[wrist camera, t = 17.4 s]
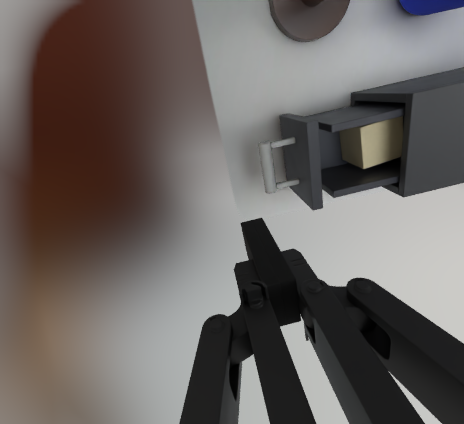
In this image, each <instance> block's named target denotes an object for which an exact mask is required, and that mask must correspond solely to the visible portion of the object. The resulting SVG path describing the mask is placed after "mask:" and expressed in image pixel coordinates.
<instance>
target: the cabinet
mask: <svg viewBox="0 0 464 424" xmlns="http://www.w3.org/2000/svg"><path fill="white" fill-rule="evenodd" d="M371 101H376V102H396V103H406V106H405V118H404V130H403V142H402V155H401V167H400V179H399V182H397V183H393V184H389V185H385V186H382V187H384V188H386V189H388V190H390V191H392V192H394V193H396V194H398V195H400V196H402V197H407V196H411V195H415V194H419V193H423V192H427V191H432V190H436V189H439V188H444V187H448V186H452V185H456V184H460V183H464V67H463V68H459V69H454V70H450V71H446V72H441V73H437V74H432V75H428V76H424V77H419V78H415V79H411V80H406V81H402V82H397V83H393V84H389V85H384V86H380V87H376V88H371V89H367V90H362V91H358V92H354V93H351V106H354V105H358V104H363V103H367V102H371Z"/></svg>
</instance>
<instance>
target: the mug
mask: <svg viewBox="0 0 464 424" xmlns="http://www.w3.org/2000/svg"><path fill="white" fill-rule="evenodd" d="M400 3H401V5H402V6H403V8H404V9H405V10H406V11H408V12H409V13H411V14H414V15H429V14H433V13H438V12H443V11H447V10H452V9H456V8H461V7H464V0H400Z"/></svg>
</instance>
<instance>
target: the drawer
mask: <svg viewBox="0 0 464 424" xmlns="http://www.w3.org/2000/svg"><path fill="white" fill-rule="evenodd" d="M405 106H406V103H396V102H376V101H371V102H367V103H363V104H358V105H354V106H350V107H345V108H341V109H336V110H332V111H328V112H323V113H319V114H315V115H310V116H306V117H302V116H297V115H293V114H284V115H280V125H281V133H282V140H279V141H274V142H270V141H263V142H260V143H258V147H259V153H260V159H261V166H262V172H263V179H264V185H265V192H266V193H269V194H270V193H275V192H276V191H277V189H280V188H284V187H288V186H289V187H290V188H291V189H292V190H293V191H294V192H295V193H296V194H297V195H298V196H299V197H300V198H301V199H302V200H303V201H304V202H305V203H306V204H307V205H308V206H309V207H310V208H311V209H312V210H317V209H321V208H323V200H322V189H323V190H324V191H325V192H327V193H328V194H329V195H331V196H332V197H333V198H335V197H339V196H343V195H348V194H352V193H356V192H360V191H364V190H368V189H372V188H376V187H380V186H385V185H389V184H393V183H397V182H399V179H400V167H401V157H399V158H396V159H393V160H390V161H387V162H384V163H381V164H378V165H375V166H372V167H369V168H366V169H362V168H360V167H358V166H355V165H353V164H351V163H349V162H347V161H344V160H343V159H342V151H341V143H340V134H339V131H342V130H346V129H350V128H355V127H359V126H363V125H367V124H372V123H376V122H380V121H385V120H389V119H393V118H397V117H402V116H403V130H404V118H405ZM280 146H283V151H284V160H285V168H286V177H287V181H283V182H279V183H276V179H275V171H274V164H273V157H272V149H271V148H276V147H280Z"/></svg>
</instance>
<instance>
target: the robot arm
mask: <svg viewBox="0 0 464 424" xmlns="http://www.w3.org/2000/svg"><path fill="white" fill-rule="evenodd" d="M241 227H242V232H243V237H244V241H245V246H246V251H247V255H248V258H249V260H248V261H244V262H240V263H236V265H235V268H234V272H235V276H236V280H237V285H238V289H239V295H240V299H241V305H240V307H239V309H238V310H237V311H236V312H235V313H233V314H232V315H230V316H228V317H227V316H225V315H222V314H218V315H214V316H212V317H210V318H208V319H207V320H206V321H205V323H204V325H203V327H202V331H201V335H200V339H199V344H198V348H197V352H196V356H195V360H194V364H193V369H192V373H191V377H190V381H189V386H188V390H187V394H186V398H185V403H184V407H183V411H182V415H181V419H180V424H238V415H239V401H240V386H241V371H242V361H244V360H245V359H247V358H248V357H250V356H251V355H253V354H254V357H255V362H256V366H257V370H258V375H259V378H260V383H261V387H262V392H263V396H264V400H265V404H266V408H267V413H268V416H269V421H270V424H316V422H315V419H314V416H313V414H312V411H311V408H310V406H309V403H308V400H307V398H306V395H305V392H304V390H303V387H302V385H301V382H300V379H299V377H298V374H297V371H296V369H295V366H294V364H293V361H292V358H291V355H290V353H289V350H288V347H287V345H286V342H285V339H284V337H283V334H282V331H281V329H280V326H283V325H287V324H291V323H295V322H299V321H301V317H302V319H303V320H304V328H305V336H306V340H307V341H308V340H309V339H310V341H311V343H312V345H313V348H314V350H315V352H316V354H317V356H318V358H319V360H320V362H321V365H322V367H323V369H324V371H325V373H326V375H327V377H328V379H329V381H330V384H331V386H332V388H333V390H334V392H335V394H336V396H337V398H338V400H339V403H340V405H341V407H342V409H343V411H344V413H345V415H346V417H347V420H348V422H349V424H425V423H424V422H423V420H422V419H421V417H420V416H419V414H418V413H417V412H416V410H415V409H414V407H413V406H412V404H411V403H410V402H409V400H408V399H407V397H406V396H405V395H404V393H403V392H402V390H401V389H400V387H399V386H398V385H397V383H396V382H395V380H394V379H393V377H392V376H391V375H390V373H391V374H392V375H393V376H394V377H395V378H396V379H397V380H398V381H399V382H400V383H401V384H403V386H404V387H405V388H407V390H408V391H409V392H410V393H412V394H413V395H414V396H415V397H416V398H417V399H418V400H419V401H420V402H421V403H422V404H423V405H424V406H425V407H426V408H427V409H428V410H429V411H430V412H431V413H432V414H433V415H434V416H435V417H436V418H437V419H438V420H439V421H440V422H441V423H442V424H464V344H463V343H462V342H460V341H459V340H458V339H456V338H455V337H453V336H452V335H450V334H449V333H447V332H446V331H444V330H443V329H441V328H440V327H439V326H437V325H436V324H434V323H433V322H431V321H430V320H428V319H427V318H425V317H424V316H423V315H421V314H420V313H418V312H416V311H415V310H414V309H412V308H411V307H410V306H408V305H407V304H405V303H404V302H402V301H401V300H399V299H398V298H396V297H395V296H394V295H392V294H391V293H389V292H388V291H386V290H385V289H383V288H382V287H380V286H379V285H377V284H376V283H375V282H373V281H371V280H369V279H365V278H354V279H351V280H350V281H349V282H348V284H347V286H346V287H335V286H329V285H327V284H326V283H325V282H324V281H322V280H320V279H318V278H317V276H316V275H315V273H314V272H313V270H312V269H311V267H310V266H309V264H307V262H306V260H305V259H304V257H303V256H302V254H301V253H300V252H299V251H297V250H295V249H290V250H286V251H282V252H281V251H280V249H279V247H278V246H277V244H276V242H275V240H274V239H273V237H272V235H271V233H270V231H269V230H268V228H267V226H266V224H265V222H264V221H263V219H262V218H259V219H255V220H251V221H247V222H242V223H241ZM300 314H301V316H300ZM308 337H309V339H308ZM388 371H389V372H390V373H389V372H388Z"/></svg>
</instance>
